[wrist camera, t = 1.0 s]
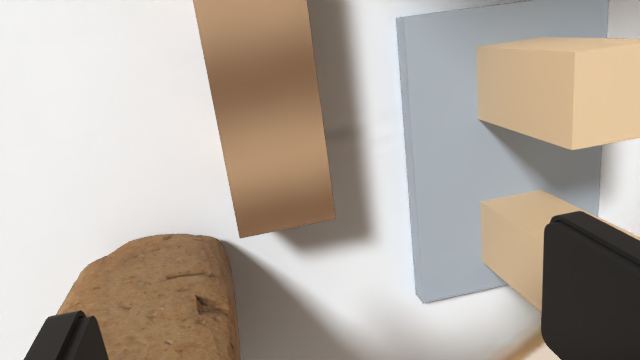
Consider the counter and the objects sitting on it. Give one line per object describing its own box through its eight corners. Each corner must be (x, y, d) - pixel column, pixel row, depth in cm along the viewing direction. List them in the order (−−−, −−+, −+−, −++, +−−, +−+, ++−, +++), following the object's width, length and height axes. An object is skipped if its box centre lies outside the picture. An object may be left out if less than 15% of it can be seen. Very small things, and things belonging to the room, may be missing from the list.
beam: (181, -74, 24) (172, -106, 19) (273, -84, 25) (291, -117, 20) (235, 197, 29) (240, 238, 23) (312, 183, 29) (335, 218, 24)
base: (396, 17, 28) (479, 11, 19) (593, -8, 29) (753, -25, 21) (415, 294, 33) (488, 388, 24) (583, 257, 34) (707, 333, 26)
